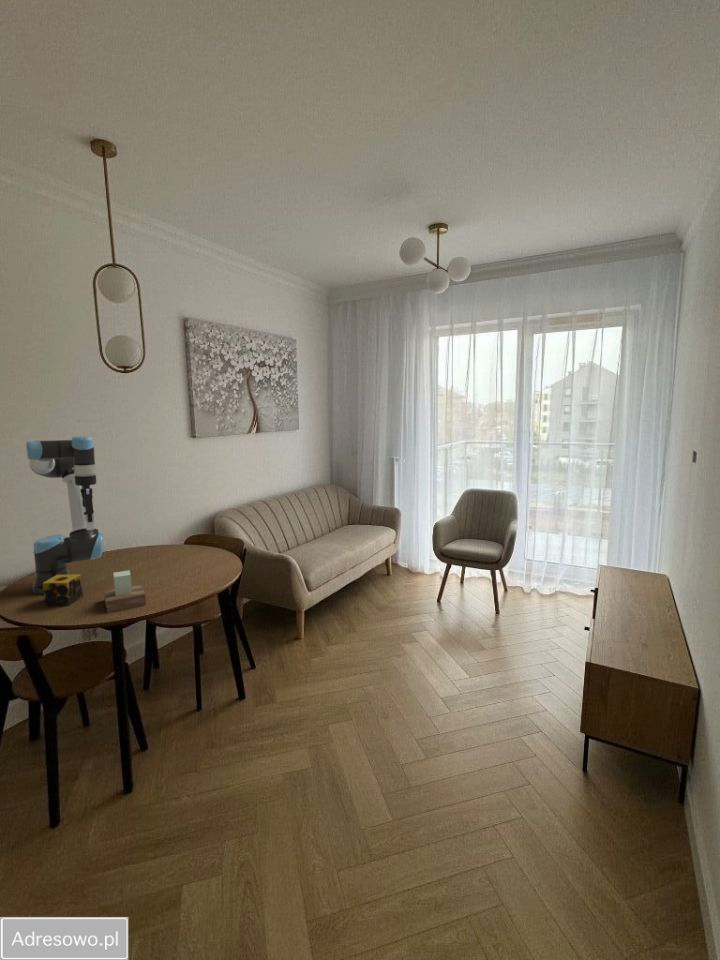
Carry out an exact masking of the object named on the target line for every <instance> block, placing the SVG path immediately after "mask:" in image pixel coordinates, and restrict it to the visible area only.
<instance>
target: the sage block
mask: <svg viewBox="0 0 720 960" xmlns="http://www.w3.org/2000/svg"><path fill="white" fill-rule="evenodd" d="M112 574H113V585H114V587H113V588H115V596H119V595H125V594H131V593H132V586H131V585H132V575H131V571H130V570H123V571H117V572H115V571H114V572H113V573H112Z"/></svg>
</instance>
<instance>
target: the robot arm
mask: <svg viewBox="0 0 720 960" xmlns="http://www.w3.org/2000/svg"><path fill="white" fill-rule="evenodd" d="M94 443H95V442H94V438H93V437H92V436H86V435H81V436H74V437H73V436H72V438H71V439H64V440H63V439H60V440H58V439H57V440H37V439H36V440H31V441H30V440H28V441H26V443H25V445H26V455H27V456H26V457H27V459H28V460H29V467H30V469H31V471H32V472H34V473H35V474H36V475H38V476H41V477H44V478H50V479H57V478H61V479H62V482H63V483H65V484H66V488H67V496H68V505H69V511H70V518H71V519H70V520H71V528H72V530H71V531H70V532H69V533H68V534H69V536H68V537H66V536H65V535H64V534H62V533H61V534H53V535H47V536H44V537H42V538H39V539H37V540H36V541H35V542H34V543H33V554H34V555H33V556H34V567H35V577H34V580H33V583H32V592H33V594H37V595H44V590H43V582H45V581H47V580H49V579H51V578H52V577H54V576H56V575H71V574H70V571H69V570H68V565H67V564H70V563H78V562H84V561H85V562H86V561H92V560H96V559H99V558H101V557H102V555H103V551H104V550H103V547H104V542H103V541H104V538H103V537H104V536H103V533H102V532H99V529H98V528H97V527H95V519H94V518H95V517H94V516H95V515H94V513H95V511H94V505H93V503H94V502H93V493H94V492H93V488H92V487H91V486H93V485H97V476H96V475H97V467H96V461H95V459H96V458H95V457H96V456H95V444H94Z"/></svg>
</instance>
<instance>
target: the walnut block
mask: <svg viewBox="0 0 720 960" xmlns="http://www.w3.org/2000/svg"><path fill="white" fill-rule="evenodd" d="M131 586H132V593H131V594H125V595H119V596H115V587H113V588H107V589H103V597H104V604H105V608H107V609H106V612H108V613H111V611H113V612H116V611H115V610H118V611H121V610H120V609H123V610H126V609H125V608H128V609H132V608H131V607H133V608H137V607H136V606H138V607H141V605H143V606H146V605H147V600H146V593H145V591H144V588H143V587H142V584H141V583H137V584H131Z"/></svg>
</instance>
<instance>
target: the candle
mask: <svg viewBox="0 0 720 960" xmlns="http://www.w3.org/2000/svg"><path fill="white" fill-rule="evenodd" d="M81 580H82V576H81V574H80V573H78V574H76V573H75V574H74V573H73V574H70V575H56V576H54V577H52V578H51V579H49V580H47V581H45V582H43V590H44V594H43V595H44V599H43V600H44V605H45V606H49V605H50V606H53V605H54V606H71V605H72V604H74V603H75V602H77V601H78V600H79V599H80V597H81V598H82V597H84V592H83V587H82V584H81Z"/></svg>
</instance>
